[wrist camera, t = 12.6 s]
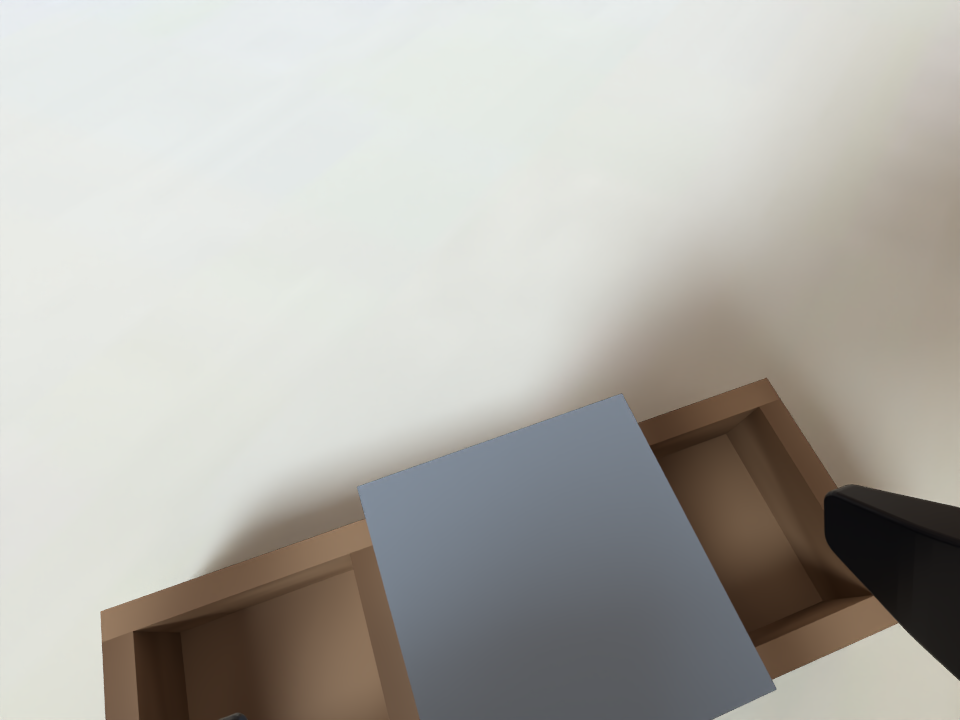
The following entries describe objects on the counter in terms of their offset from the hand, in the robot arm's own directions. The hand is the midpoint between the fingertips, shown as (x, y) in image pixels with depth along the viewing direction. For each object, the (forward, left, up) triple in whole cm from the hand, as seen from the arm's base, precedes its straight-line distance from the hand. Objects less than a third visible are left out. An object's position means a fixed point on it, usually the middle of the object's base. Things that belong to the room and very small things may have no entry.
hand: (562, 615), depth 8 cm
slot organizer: (0, 0, -11) cm, 11 cm away
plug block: (0, 0, -11) cm, 11 cm away
